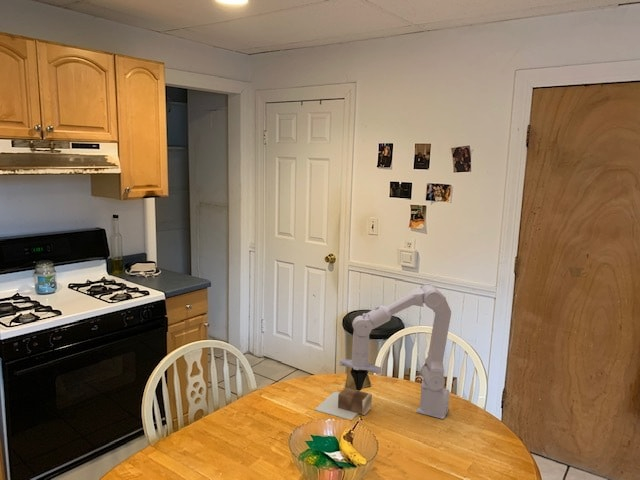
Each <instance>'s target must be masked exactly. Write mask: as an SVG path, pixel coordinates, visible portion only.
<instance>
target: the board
mask: <svg viewBox="0 0 640 480" xmlns="http://www.w3.org/2000/svg"><path fill="white" fill-rule="evenodd" d="M340 392H341V391H336V390H335V391H333V392H332V393H331V394H330V395H329V396H328V397H327V398H325V399H324V400H323V401H322V402H321V403H320V404H319V405H317V406H316V407H315V408H314V409H313V410H314V411H315V412H320V413H323V414H327V415H330V416H333V417H337V418H341V419H344V420H347V419H353V420H354V419H355V418H356V416H358V413H354V412H351V411H347V410H343V409H340V408H338V394H339V393H340Z"/></svg>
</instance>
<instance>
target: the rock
mask: <svg viewBox="0 0 640 480" xmlns="http://www.w3.org/2000/svg"><path fill="white" fill-rule="evenodd" d="M351 370H352V368H351V367H347V373H346V380H345V384H344V387H345V388H349V389H353V390H356V385H355V382H354V379H353V377H352V375H351V373H350V371H351ZM371 386H372V383H371V380H370V375H368V374H367V376H366V378H365V380H364V383H363V387H362V389H365V388H367V387H371ZM345 388H344V389H345Z"/></svg>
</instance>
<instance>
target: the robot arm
mask: <svg viewBox="0 0 640 480" xmlns="http://www.w3.org/2000/svg"><path fill="white" fill-rule="evenodd" d="M424 304H425V306H426V307H427V308H429V309H430V310H432V312H434V319H433V323H432V329H431V336H430V343H429V348H428V354H427V357H426V358H425V359H424V363H423V365H422V366H421V368H420V375H421V378H423V380H422V381H421V385H420V398H419V399H420V402H419V406H418V408H417V409H416V413H418V414H422V415H425V416H430V417H434V418H438V419H441V420H444V419H445V418H446V415H447V414H448V412H449V410H450V408H449V406H450V405H449V404H450V390H449V389H448V388H445V384H446V380H445V375H444V374H445V367H444V356H445V351H446V345H447V338H448V334H449V328H450V323H451V319H452V317H451V316H452V310H451V307H450V305H449V303H448V301H447V297H446V296H445V295H444V294H443V293H442V292H441V291H439V289H437V288H436V287H435V285H433V284H431V283H424V284H422V285H420V286H418V287H415V288H414V289H413V290H411V291H410V292H409V293H407V294H405V295H403V296H402V297H400V298H398V299H397V300H395V301H394V302H392V303H390V304H388V305H383V304H381V305H380V306H379V305H376V306H374V308H373V309H372V310H370V311H367V312H366V313H365V312H364V313H362V315H357V316H356V317H355V318H354V319H353V320H352V322H351V327H352V328H353V333H352V347H351V350H352V351H351V359H346V358H345V359H344V358H341V359H340V360H339V367H346V368H348V367H351V368H352V370H351V371H350V373H351V375H352V377H353V379H354V382H355V385H356V390H357V391H362V389H363V388H362V387H363V383H364V380H365V378H366V376H367V375H368V374H369V373H373V374H376V375H381V373H382V367H381V366H378V365H374V364H372V363H371V362H369V360H370V334H371V332H372V330H374V329H376V328H378V327H380V326H382V325H384V324H386V323H387V322H389V321H391V318H392V317H393V316H394V315H395V314H398V313H399V312H402V311H403V310H405V309H408V308H410V307H413V306H415V307H417V306H418V307H424Z"/></svg>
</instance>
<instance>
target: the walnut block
mask: <svg viewBox="0 0 640 480" xmlns="http://www.w3.org/2000/svg"><path fill="white" fill-rule="evenodd" d="M339 392H340V393H339V394H338V408H340V409H343V410H347V411H351V412H354V413H358V414H359V415H363V416H365V415H366V414H367V413H368V412H369V411H370V410H371V409H372V401H373V400H372V398H373V397H372V396H373V394H372V393H367V392H365V391H362V390H360V391H358V390H353V389H349V388H343V389H342V391H339ZM358 414H357V415H358Z"/></svg>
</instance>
